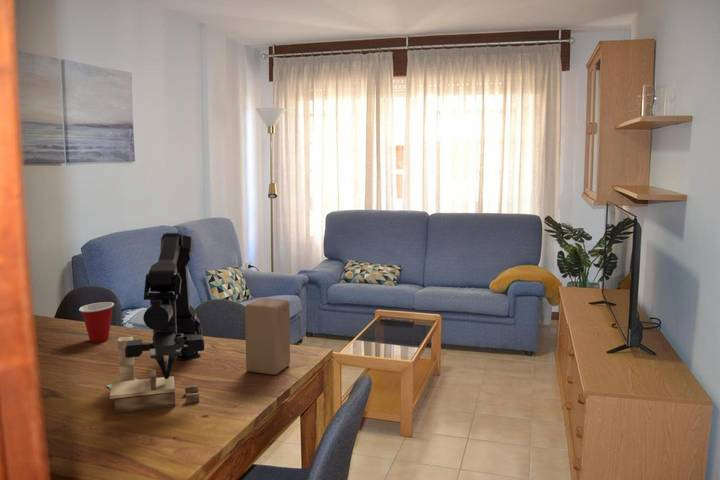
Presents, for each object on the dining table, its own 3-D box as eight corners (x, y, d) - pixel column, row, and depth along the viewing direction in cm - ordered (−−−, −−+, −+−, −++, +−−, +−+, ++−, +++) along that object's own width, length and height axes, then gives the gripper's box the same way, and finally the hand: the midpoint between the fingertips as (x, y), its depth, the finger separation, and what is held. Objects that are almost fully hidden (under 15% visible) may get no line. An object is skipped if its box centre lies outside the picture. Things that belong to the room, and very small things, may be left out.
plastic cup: (84, 336, 208) (82, 302, 207) (117, 334, 211) (116, 300, 209) (77, 346, 198) (75, 310, 196) (113, 343, 200) (111, 308, 199)
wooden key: (135, 382, 166) (132, 336, 164) (134, 387, 163) (132, 340, 161) (121, 384, 165) (118, 337, 163) (120, 388, 162) (118, 341, 160)
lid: (174, 379, 160) (173, 367, 159) (174, 391, 151) (174, 379, 151) (112, 385, 155) (111, 373, 155) (109, 398, 147) (109, 386, 146)
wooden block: (291, 365, 182) (290, 299, 179) (276, 376, 173) (275, 307, 170) (261, 361, 185) (260, 296, 182) (244, 372, 176) (243, 304, 173)
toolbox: (197, 390, 162) (197, 377, 161) (199, 403, 154) (199, 390, 153) (117, 399, 156) (116, 386, 155) (114, 413, 147) (114, 399, 147)
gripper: (122, 330, 142) (125, 394, 144) (205, 324, 148) (207, 385, 150) (124, 318, 152) (127, 378, 155) (201, 312, 158) (203, 370, 160)
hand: (166, 378), depth 155 cm, fingers closed
